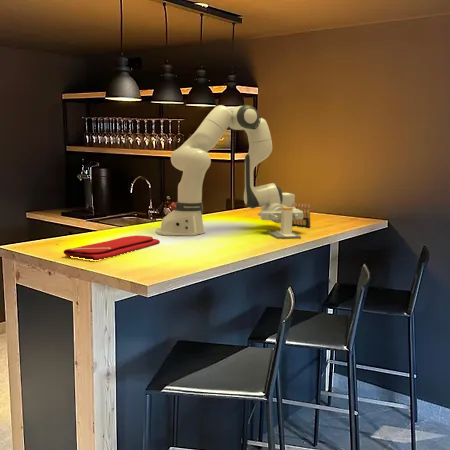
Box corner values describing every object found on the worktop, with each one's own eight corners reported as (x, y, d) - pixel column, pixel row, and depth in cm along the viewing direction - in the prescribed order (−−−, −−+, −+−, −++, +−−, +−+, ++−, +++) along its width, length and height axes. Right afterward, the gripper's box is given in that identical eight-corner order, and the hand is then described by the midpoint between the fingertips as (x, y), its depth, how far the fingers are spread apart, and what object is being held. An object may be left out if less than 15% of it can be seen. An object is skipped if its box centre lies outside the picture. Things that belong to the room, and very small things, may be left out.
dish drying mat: (160, 244, 238) (160, 235, 237) (96, 263, 202) (95, 253, 202) (130, 240, 245) (130, 232, 245) (62, 258, 209) (62, 248, 209)
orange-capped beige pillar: (283, 234, 259) (284, 208, 257) (280, 232, 263) (281, 206, 261) (291, 234, 260) (292, 208, 258) (288, 232, 264) (289, 206, 262)
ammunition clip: (289, 225, 290) (290, 202, 288) (291, 225, 292) (292, 202, 290) (308, 228, 284) (309, 204, 282) (310, 227, 286) (311, 203, 284)
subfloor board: (277, 238, 253) (277, 236, 253) (267, 233, 268) (267, 230, 267) (300, 238, 256) (300, 236, 255) (289, 232, 270) (289, 230, 270)
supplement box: (294, 222, 302) (295, 194, 300) (279, 223, 299) (280, 194, 296) (286, 219, 310) (287, 192, 308) (271, 220, 307) (272, 192, 305)
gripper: (256, 207, 271) (265, 211, 257) (297, 206, 275) (307, 210, 262) (256, 220, 272) (264, 224, 258) (297, 219, 276) (307, 224, 263)
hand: (286, 217), depth 260 cm, fingers open, 8 cm apart
